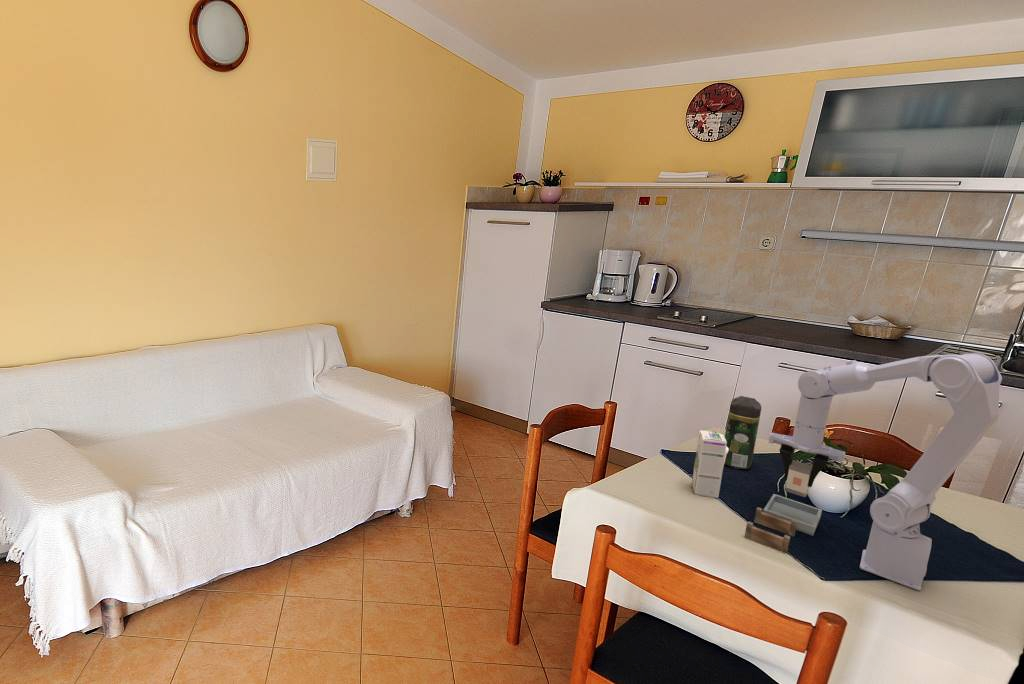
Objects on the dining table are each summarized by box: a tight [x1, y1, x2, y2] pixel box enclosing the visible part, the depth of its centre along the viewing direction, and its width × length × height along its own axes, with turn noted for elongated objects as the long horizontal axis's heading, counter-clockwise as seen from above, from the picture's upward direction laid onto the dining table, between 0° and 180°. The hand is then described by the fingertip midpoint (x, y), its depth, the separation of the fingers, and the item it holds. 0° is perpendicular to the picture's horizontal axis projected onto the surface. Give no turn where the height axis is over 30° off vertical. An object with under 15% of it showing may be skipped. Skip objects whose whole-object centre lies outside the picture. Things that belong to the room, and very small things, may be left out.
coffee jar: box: [724, 395, 762, 470], centre depth 145 cm, size 10×8×19 cm
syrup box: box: [691, 430, 727, 499], centre depth 128 cm, size 6×6×14 cm
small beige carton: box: [784, 459, 813, 498], centre depth 117 cm, size 4×4×6 cm
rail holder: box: [743, 506, 798, 554], centre depth 111 cm, size 8×9×3 cm
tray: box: [762, 493, 823, 537], centre depth 119 cm, size 10×10×2 cm
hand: (798, 481), depth 117 cm, fingers closed on small beige carton, 4 cm apart
